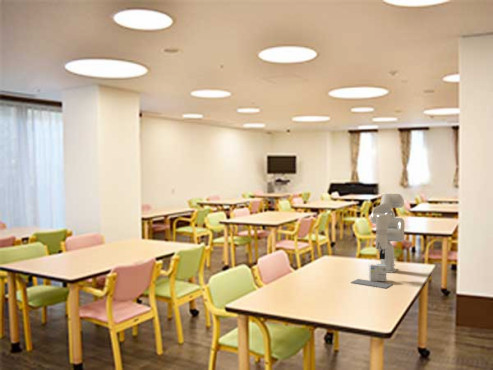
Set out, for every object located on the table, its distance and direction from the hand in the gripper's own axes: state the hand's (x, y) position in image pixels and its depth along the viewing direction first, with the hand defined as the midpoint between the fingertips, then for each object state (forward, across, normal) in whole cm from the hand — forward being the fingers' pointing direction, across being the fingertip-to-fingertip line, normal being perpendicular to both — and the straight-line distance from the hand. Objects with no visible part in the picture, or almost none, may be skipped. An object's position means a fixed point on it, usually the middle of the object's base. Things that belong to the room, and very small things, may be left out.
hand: (382, 258), depth 288 cm
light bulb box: (+14, +8, 0) cm, 16 cm away
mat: (+14, +18, 0) cm, 23 cm away
